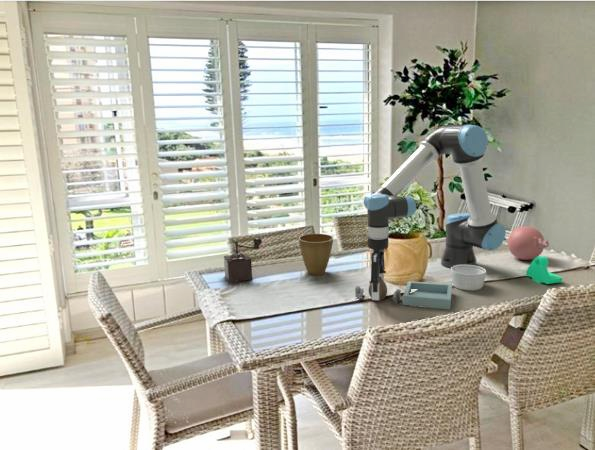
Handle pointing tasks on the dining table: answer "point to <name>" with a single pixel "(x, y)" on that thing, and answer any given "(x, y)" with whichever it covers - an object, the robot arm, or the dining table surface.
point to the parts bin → (428, 295)
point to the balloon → (526, 243)
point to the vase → (381, 289)
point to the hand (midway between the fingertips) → (377, 294)
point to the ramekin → (468, 277)
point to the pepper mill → (239, 263)
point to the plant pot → (316, 252)
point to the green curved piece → (542, 271)
